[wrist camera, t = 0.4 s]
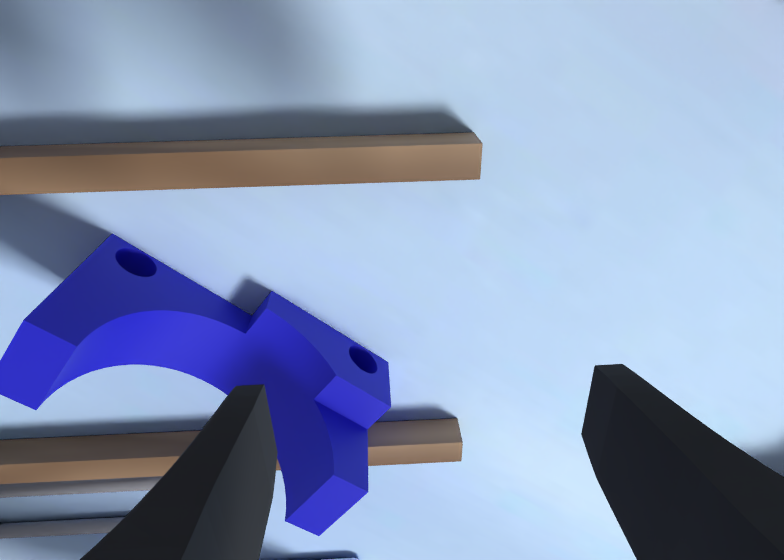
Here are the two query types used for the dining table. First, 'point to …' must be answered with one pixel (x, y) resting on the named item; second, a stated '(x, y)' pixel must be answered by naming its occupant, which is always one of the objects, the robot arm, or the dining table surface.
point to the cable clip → (214, 365)
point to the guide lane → (222, 170)
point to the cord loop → (69, 488)
